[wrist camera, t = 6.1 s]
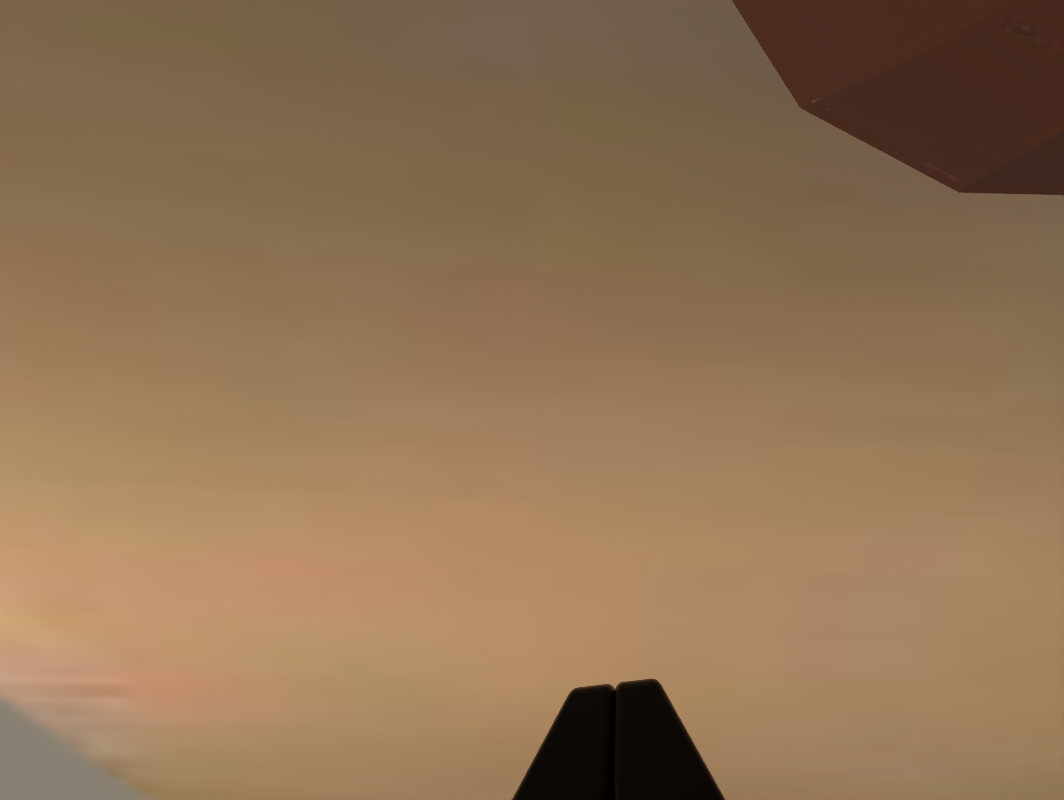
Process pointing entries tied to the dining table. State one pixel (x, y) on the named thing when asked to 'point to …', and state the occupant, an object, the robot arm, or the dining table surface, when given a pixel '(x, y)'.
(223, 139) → the dining table surface
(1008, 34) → the muffin
